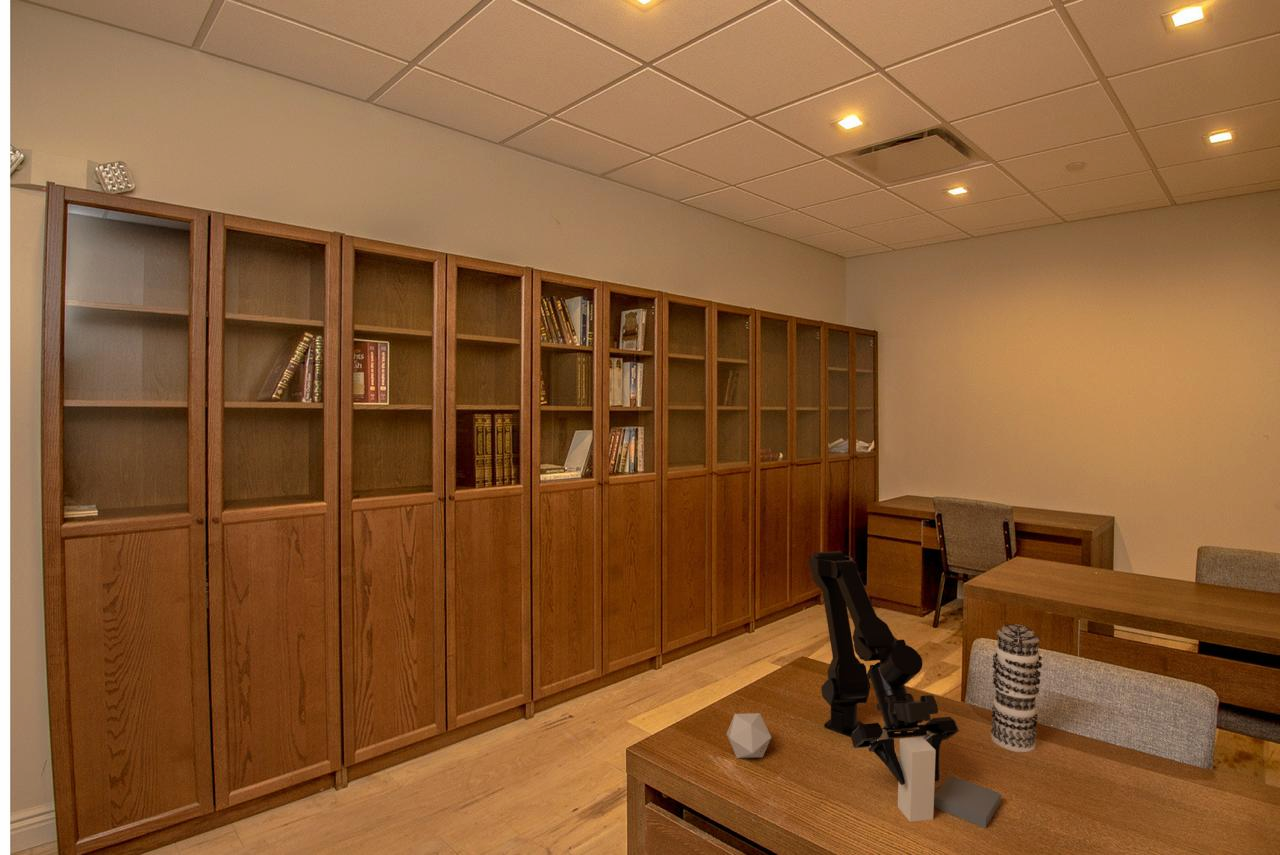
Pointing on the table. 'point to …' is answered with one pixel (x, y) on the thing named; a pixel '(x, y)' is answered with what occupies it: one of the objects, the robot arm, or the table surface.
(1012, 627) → the decorative candle
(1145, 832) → the table surface
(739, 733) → the die
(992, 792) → the plate
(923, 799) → the tall white pillar block
